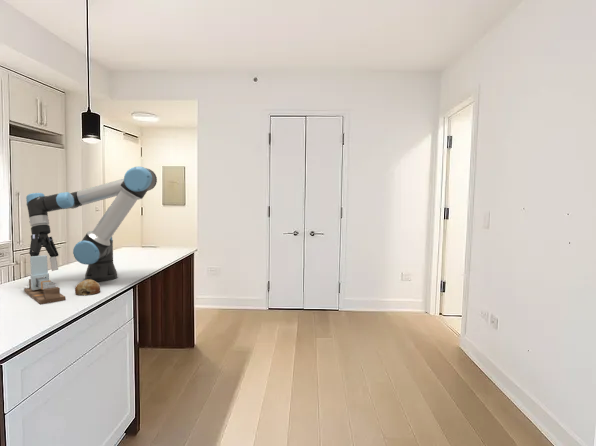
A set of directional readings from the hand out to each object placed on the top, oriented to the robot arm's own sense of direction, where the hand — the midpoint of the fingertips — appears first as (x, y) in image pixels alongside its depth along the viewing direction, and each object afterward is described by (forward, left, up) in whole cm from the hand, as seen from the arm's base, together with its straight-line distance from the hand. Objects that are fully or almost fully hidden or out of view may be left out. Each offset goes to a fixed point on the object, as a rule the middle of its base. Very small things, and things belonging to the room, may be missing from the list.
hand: (47, 270), depth 184 cm
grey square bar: (-2, +14, -5) cm, 15 cm away
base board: (-2, +14, -9) cm, 17 cm away
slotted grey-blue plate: (+1, +9, -6) cm, 11 cm away
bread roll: (-18, +14, -9) cm, 25 cm away
